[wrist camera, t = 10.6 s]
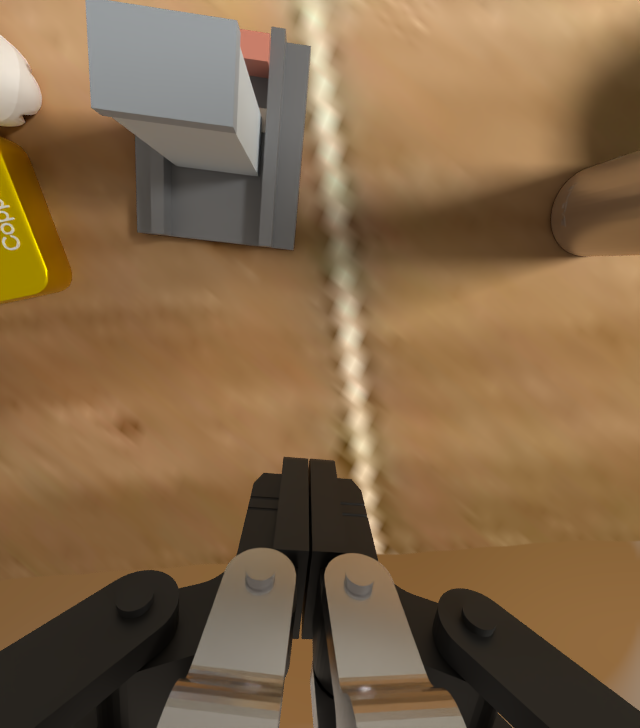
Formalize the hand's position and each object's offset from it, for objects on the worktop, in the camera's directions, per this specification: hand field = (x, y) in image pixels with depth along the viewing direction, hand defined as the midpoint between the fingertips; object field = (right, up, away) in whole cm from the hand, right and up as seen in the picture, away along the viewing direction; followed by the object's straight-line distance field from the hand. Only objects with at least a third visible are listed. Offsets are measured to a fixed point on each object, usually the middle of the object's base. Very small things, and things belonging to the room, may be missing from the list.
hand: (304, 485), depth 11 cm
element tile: (-35, +18, +28) cm, 48 cm away
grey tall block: (-9, +25, +24) cm, 36 cm away
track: (-9, +25, +26) cm, 37 cm away
